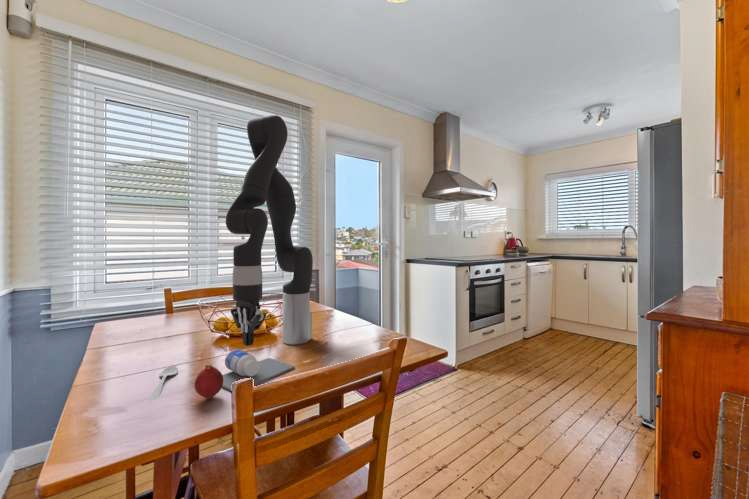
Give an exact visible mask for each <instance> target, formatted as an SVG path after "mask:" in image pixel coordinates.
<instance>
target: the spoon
mask: <svg viewBox="0 0 749 499" xmlns="http://www.w3.org/2000/svg"><path fill="white" fill-rule="evenodd" d="M178 372H179V368H178V367H177V366H176V365H169V366H166V367H165V368H164V369H163V370H162V371H161V373H160V374H159V377H161V380H160V381H159V384H157V386H156V387H155V389H154V390H153V392H152V393H151V395H150V396H149V397H148V400H149V401H150V402H154V401H156V400H157V399H158V398H159V397H160V395H161V392H162V389H163V386H164V382H165V380H166V379H167V378H168V377H172V376H175V375H177V374H179V373H178Z"/></svg>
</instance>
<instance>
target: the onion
mask: <svg viewBox="0 0 749 499" xmlns="http://www.w3.org/2000/svg"><path fill="white" fill-rule="evenodd" d="M223 375H224V374H222V372H221V371H220V370H219V369H218V368H217V367H214V366H213V365H212V364H209V363H208V364H206V365H205V368H204V369H202V370H201V371H200V372H199V373H198V374H197V375H196V378H195V381H194V390H195V392H196V393H197V395H199V396H200V397H202V398H205V399H206V400H211V399H213V398H214V397H215V396H216V395H217V394H218V393H219V392H220V391H221V389H223V388H222V386H223Z"/></svg>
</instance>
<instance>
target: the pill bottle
mask: <svg viewBox="0 0 749 499" xmlns="http://www.w3.org/2000/svg"><path fill="white" fill-rule="evenodd" d="M224 365H225V367H226V368H227V369H228V370H230V371H231V372H232V371H234V372H235V373H237V374H239V375H241V376H254V375H256V374H257V373H258V371H259V369H260V363H259V361H258V360H257V358H256V357H255V356H254V355H252V354H251V353H248V352H245V351H244V350H241V349H238V348H237V349H233V350H231V351H229V352H228V354H226V357H225V359H224Z"/></svg>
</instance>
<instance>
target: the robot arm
mask: <svg viewBox="0 0 749 499" xmlns="http://www.w3.org/2000/svg"><path fill="white" fill-rule="evenodd" d="M246 123H247V124H246V133H247V138H248V143H249V145H250V148H251V151H252V154H253V157H254V161H253V162H252V163H251V165H249V167H248V169H247V170H246V172H245V174H244V177H243V181H242V185H241V188H240V192H239V194H237V197H236V198H235V199H234V201H233V203H232V204H231V206H229V209H228V211H227V213H226V216H225V226H226V228H227V230H228V232H230V233H231V234H233V235H249V238H248V240H246V241H245V242H239V243H237V244H236V245H235V246H234V247H233V250H232V251H233V252H232V253H233V262H232V263H233V267H232V299H233V301H235V307H234V308H231V309H230V313H231V316H232V319H233V320H234V324H235V325H236V328H237V329H240V331H241V332H242V344H243V346H245V347H249V346H253V344H254V340H255V339H254V338H255V336H254V333H255V331H259V330H260V328H261V326H262V325H263V322H264V321H265V319H266V317H267V313H266V312H262V311H261V304H260V300H262V299H263V270H262V268H263V267H262V250H263V244H264V240H265V236H266V233H267V230H268V223H269V220H270V222H271V227H272V228H271V229H272V233H273V239H274V245H275V246H274V248H275V253H276V256H275V257H276V261H277V264H278V266H279V269H280V270H281V271H283V272H286V273H293V277H292V279H291V280H290V281H288V282H286V283H283V285H282V342H283V343H284V344H286V345H302V344H306V343H308V342H309V341H311V340H312V338H313V336H312V335H313V332H312V331H313V328H312V327H313V323H312V322H313V316H312V315H313V314H312V311H310V310H311V292H310V291H311V285H312V280H313V264H314V263H313V261H314V258H313V253H312V250H310V248H309V247H307V246H303V245H302V246H299V245H298V246H297V245H296V246H295V245H293V240H292V233H291V231H292V230H291V229H292V224H293V222H294V218H295V216H296V213H297V204H296V198H295V194H294V189H293V188H292V185H291V184H290V182H289V181H288V179H287V178H286V177H285V176H284V175H283V174H282V173H281V172H280V171H279V169H278V167H276V166H277V164H278V163H279V160H280V157H281V156H282V153H283V151H284V149H285V146H286V144H287V141H288V126H287V125H286V122H285V121H284V119H283V118H282V117H281V116H279V115H277V114H276V115H275V114H273V115H272V114H271V115H266V116H260V117H254V118H251V119H249V120H248V121H247V122H246ZM265 203H266V208H267V211H268V214H269V217H268V215H267V213H266V212H265V210H263V209H262V208H258V207H261V206H263V205H265ZM268 218H269V220H268Z"/></svg>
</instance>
